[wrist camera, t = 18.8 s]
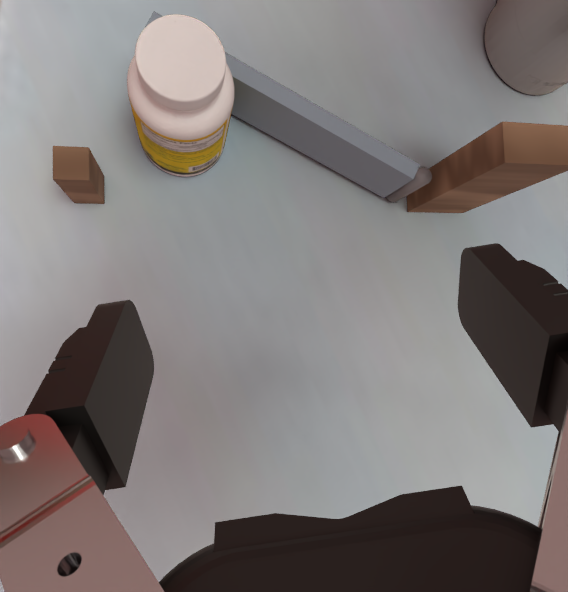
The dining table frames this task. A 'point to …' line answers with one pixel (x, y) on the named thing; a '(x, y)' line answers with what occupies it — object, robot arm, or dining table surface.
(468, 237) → the dining table surface
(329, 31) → the dining table surface
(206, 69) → the pill bottle
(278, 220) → the dining table surface
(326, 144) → the gate
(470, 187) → the wooden blocks
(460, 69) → the dining table surface
